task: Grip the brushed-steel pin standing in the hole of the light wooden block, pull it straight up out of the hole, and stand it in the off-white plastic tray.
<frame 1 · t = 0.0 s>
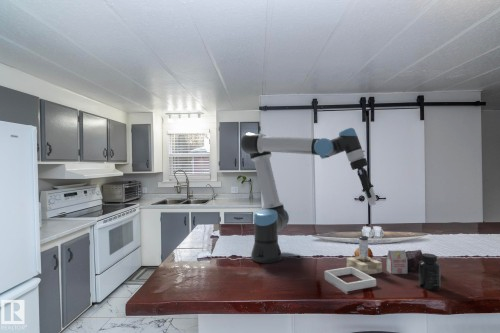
hand: (373, 202, 134), 28 cm above the kitchen island, tool tilted 20°, fingers open, 13 cm apart
pin: (363, 269, 124), point 1 cm above the kitchen island, touching pin block
supplement bottle: (429, 287, 107), on the kitchen island
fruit: (363, 261, 137), on the kitchen island
tray: (349, 283, 112), on the kitchen island
pin block: (363, 271, 124), on the kitchen island
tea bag: (397, 274, 120), on the kitchen island
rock: (412, 271, 124), on the kitchen island
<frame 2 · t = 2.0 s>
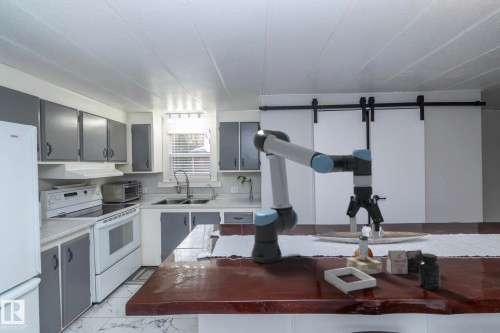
hand: (364, 235, 123), 16 cm above the kitchen island, tool pointing down, fingers open, 13 cm apart
nothing on the kitchen island moved.
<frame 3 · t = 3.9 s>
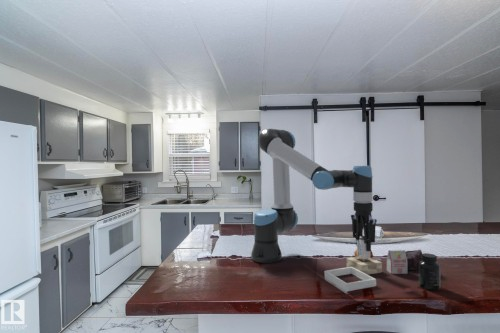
hand: (363, 256, 124), 7 cm above the kitchen island, tool pointing down, fingers closed on pin, 3 cm apart
pin: (363, 269, 124), point 1 cm above the kitchen island, touching gripper, pin block
everything else where it was.
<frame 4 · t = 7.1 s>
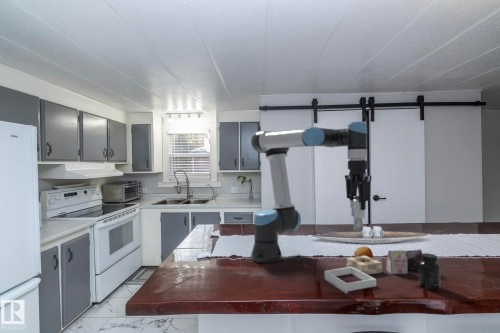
hand: (357, 216, 119), 24 cm above the kitchen island, tool pointing down, fingers closed on pin, 3 cm apart
pin: (358, 230, 119), point 19 cm above the kitchen island, touching gripper
everything else where it was.
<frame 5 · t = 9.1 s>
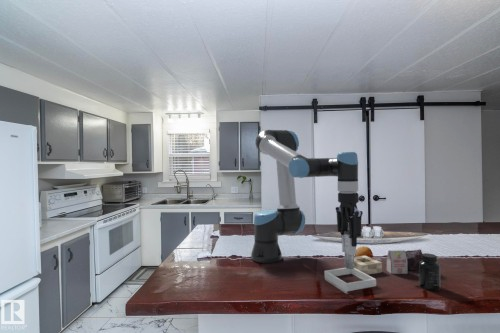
hand: (349, 252, 112), 12 cm above the kitchen island, tool pointing down, fingers closed on pin, 3 cm apart
pin: (349, 267, 112), point 6 cm above the kitchen island, touching gripper
everything else where it was.
when the fingers open (8 cm above the kitchen island, at t = 10.5 s): pin drops 2 cm, resting on tray.
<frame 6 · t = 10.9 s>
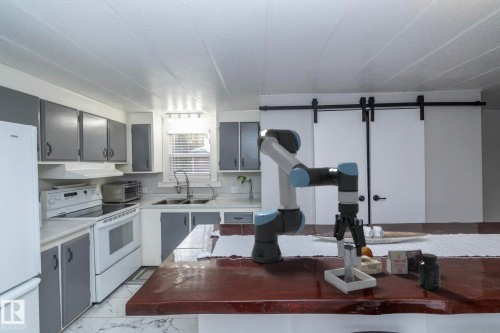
hand: (349, 260, 112), 9 cm above the kitchen island, tool pointing down, fingers open, 9 cm apart
pin: (349, 281, 112), point 1 cm above the kitchen island, touching tray
everything else where it was.
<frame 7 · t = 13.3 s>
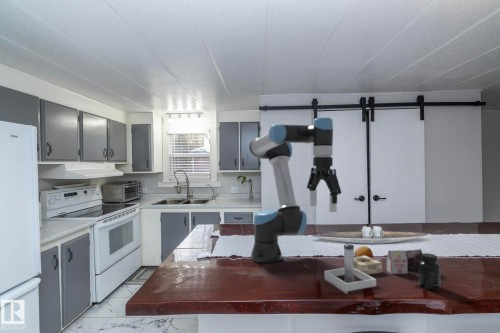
hand: (322, 208, 118), 28 cm above the kitchen island, tool pointing down, fingers open, 13 cm apart
nothing on the kitchen island moved.
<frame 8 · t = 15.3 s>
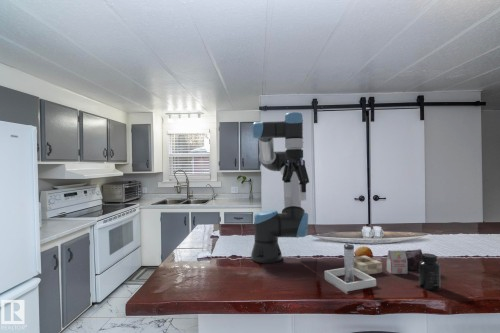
hand: (295, 198, 124), 32 cm above the kitchen island, tool pointing down, fingers open, 13 cm apart
at the end: pin inside the target area on the tray (0.0 cm from its centre), point 0.8 cm above the tray's base; the gripper is holding nothing; pin touching tray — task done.
